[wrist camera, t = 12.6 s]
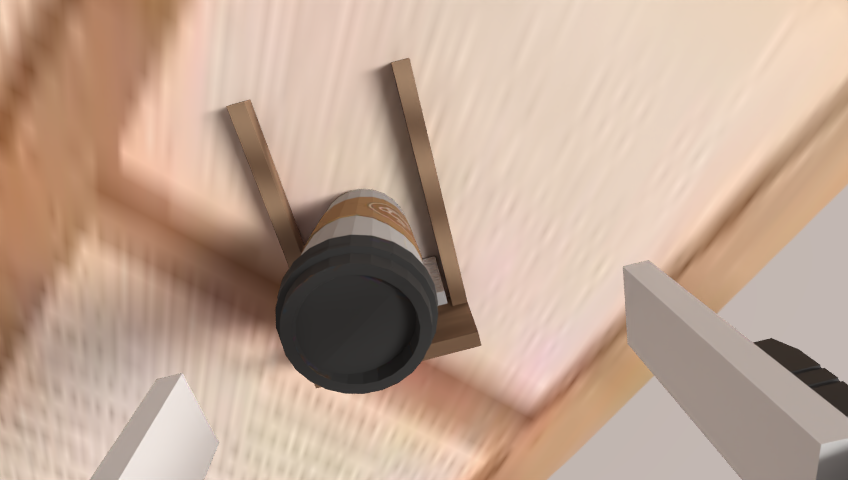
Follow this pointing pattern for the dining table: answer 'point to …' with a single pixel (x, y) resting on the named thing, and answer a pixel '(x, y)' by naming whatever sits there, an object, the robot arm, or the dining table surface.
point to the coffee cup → (358, 298)
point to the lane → (455, 315)
